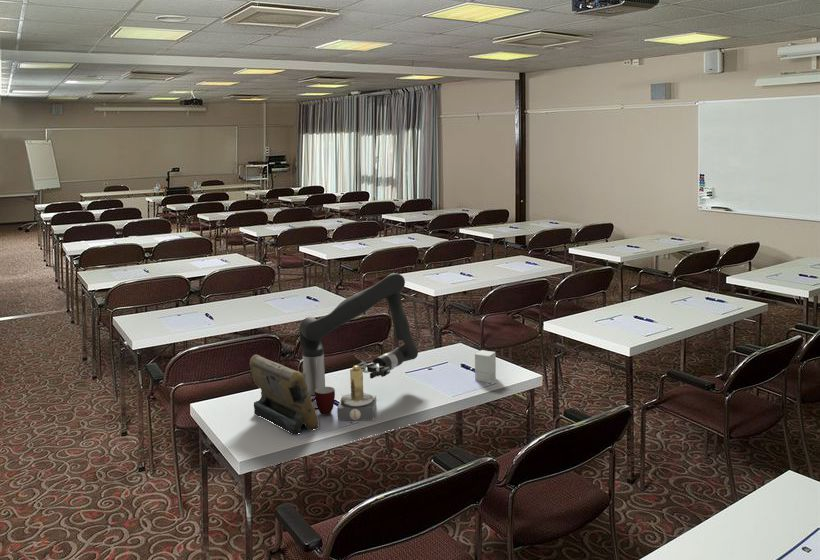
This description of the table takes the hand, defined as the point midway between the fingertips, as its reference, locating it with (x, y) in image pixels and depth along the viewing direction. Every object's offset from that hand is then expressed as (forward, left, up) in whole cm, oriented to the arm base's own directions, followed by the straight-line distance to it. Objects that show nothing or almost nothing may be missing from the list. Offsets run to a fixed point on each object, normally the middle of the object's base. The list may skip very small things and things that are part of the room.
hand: (362, 374), depth 274 cm
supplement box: (+52, +37, -16) cm, 65 cm away
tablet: (-30, -11, -16) cm, 36 cm away
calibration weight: (-2, -3, -9) cm, 10 cm away
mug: (-16, -4, -16) cm, 23 cm away
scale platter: (-2, -3, -10) cm, 11 cm away
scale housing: (-2, -3, -15) cm, 16 cm away
